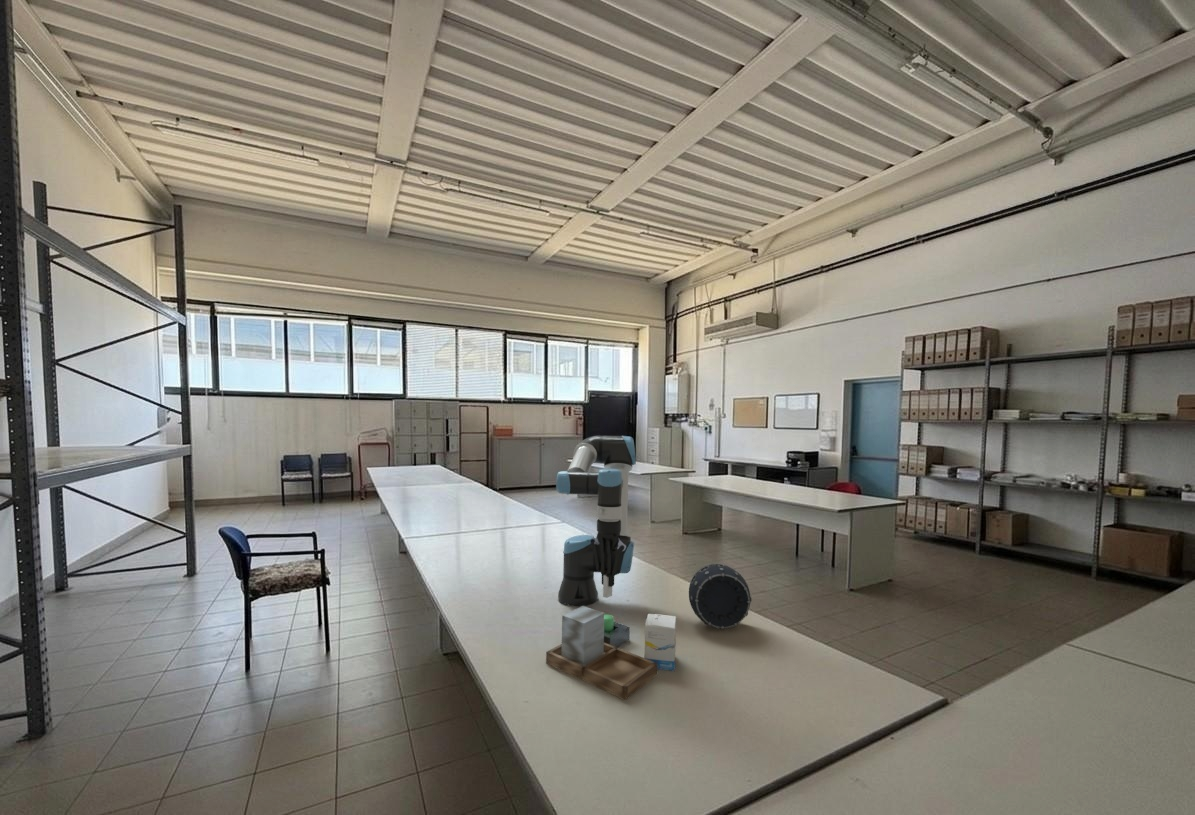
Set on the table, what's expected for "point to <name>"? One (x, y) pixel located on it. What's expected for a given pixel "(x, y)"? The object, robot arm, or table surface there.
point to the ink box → (660, 640)
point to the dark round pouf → (719, 596)
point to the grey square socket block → (617, 635)
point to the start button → (608, 623)
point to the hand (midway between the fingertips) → (607, 596)
